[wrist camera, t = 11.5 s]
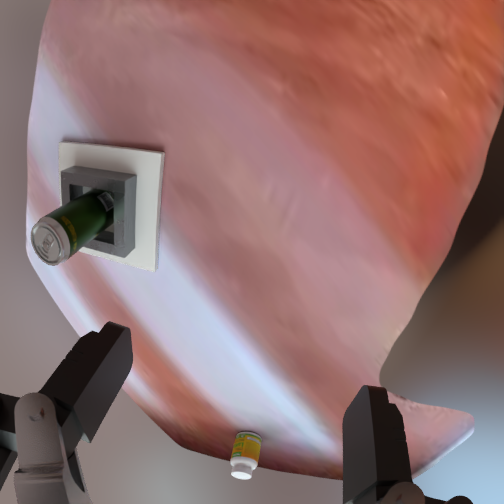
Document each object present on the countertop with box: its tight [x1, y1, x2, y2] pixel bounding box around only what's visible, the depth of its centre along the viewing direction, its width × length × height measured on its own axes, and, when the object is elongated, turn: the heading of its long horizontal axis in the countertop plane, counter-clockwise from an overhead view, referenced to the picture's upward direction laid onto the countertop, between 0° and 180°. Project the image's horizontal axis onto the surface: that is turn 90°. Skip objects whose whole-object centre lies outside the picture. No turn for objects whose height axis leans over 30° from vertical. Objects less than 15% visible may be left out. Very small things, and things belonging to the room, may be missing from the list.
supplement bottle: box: [230, 432, 261, 479], centre depth 55 cm, size 5×5×10 cm
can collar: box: [61, 166, 137, 258], centre depth 37 cm, size 10×10×3 cm
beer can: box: [31, 188, 114, 266], centre depth 33 cm, size 5×5×12 cm
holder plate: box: [59, 141, 165, 272], centre depth 39 cm, size 16×16×1 cm
